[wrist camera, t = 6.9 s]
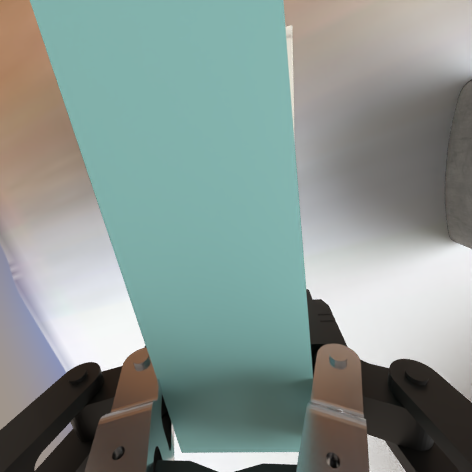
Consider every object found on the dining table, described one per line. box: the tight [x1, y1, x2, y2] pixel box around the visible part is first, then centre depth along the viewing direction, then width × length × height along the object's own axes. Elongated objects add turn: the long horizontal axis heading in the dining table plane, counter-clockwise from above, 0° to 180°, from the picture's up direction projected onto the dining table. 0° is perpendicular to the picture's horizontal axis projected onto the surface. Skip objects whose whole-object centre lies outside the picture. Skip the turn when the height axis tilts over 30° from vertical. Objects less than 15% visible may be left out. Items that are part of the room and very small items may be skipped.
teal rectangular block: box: [30, 0, 313, 453], centre depth 9 cm, size 14×4×6 cm, turn 9°
